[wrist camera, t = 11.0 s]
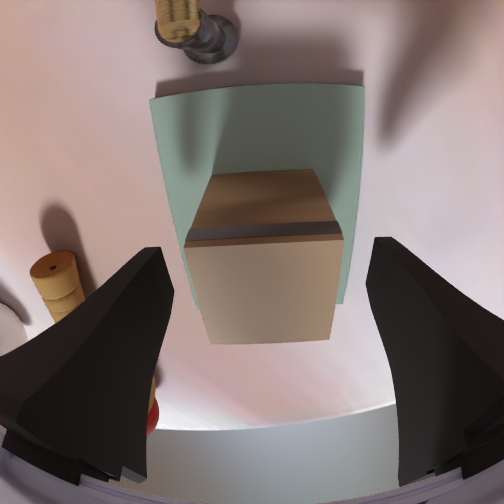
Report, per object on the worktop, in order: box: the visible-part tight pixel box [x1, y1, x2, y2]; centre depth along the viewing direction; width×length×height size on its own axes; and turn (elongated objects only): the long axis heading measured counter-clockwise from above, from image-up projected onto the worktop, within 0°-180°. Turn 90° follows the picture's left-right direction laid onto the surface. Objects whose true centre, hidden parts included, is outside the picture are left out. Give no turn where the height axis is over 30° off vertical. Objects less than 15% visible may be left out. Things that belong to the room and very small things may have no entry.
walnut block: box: [183, 169, 344, 344], centre depth 10 cm, size 4×4×5 cm
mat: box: [149, 83, 364, 310], centre depth 13 cm, size 8×11×1 cm
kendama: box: [30, 251, 159, 436], centre depth 18 cm, size 8×6×18 cm
